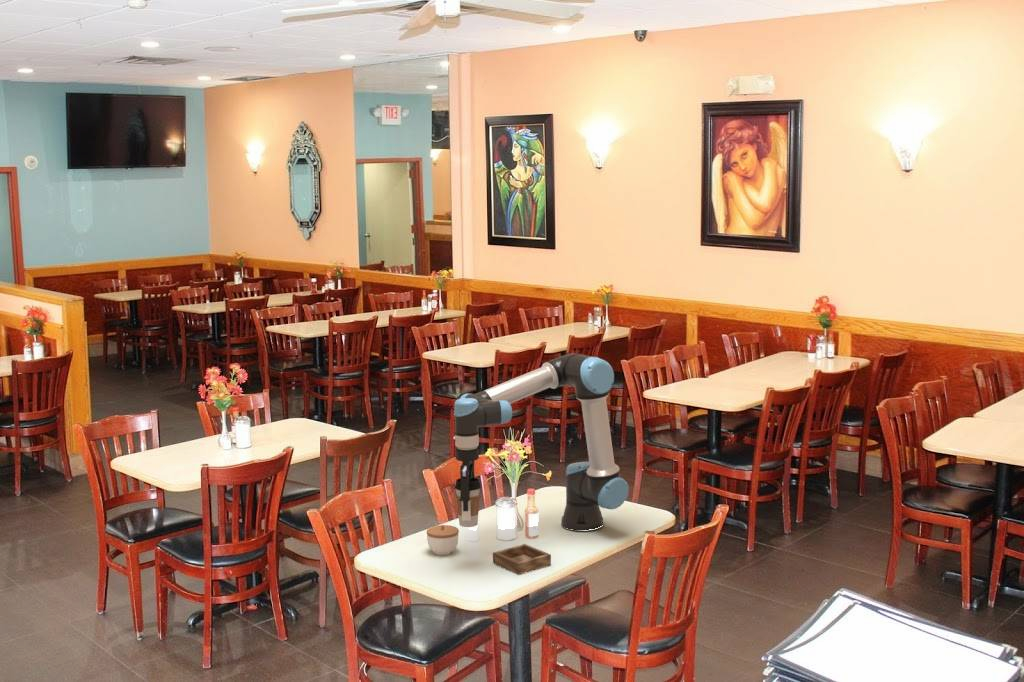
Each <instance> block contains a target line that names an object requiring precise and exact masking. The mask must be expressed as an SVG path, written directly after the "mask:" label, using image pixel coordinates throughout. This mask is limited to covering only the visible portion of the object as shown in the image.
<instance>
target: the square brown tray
mask: <svg viewBox="0 0 1024 682" xmlns="http://www.w3.org/2000/svg"><path fill="white" fill-rule="evenodd" d="M493 563H494V564H493ZM492 564H493V565H495V564H496V566H497V567H500V566H501V568H502V569H504V568H505V569H504V570H507V571H509V572H511V571H512V573H513V572H514V573H513V574H515V573H516V575H517V576H520V575H523V574H526V573H525V572H527V573H529V571H530V572H533V571H536V569H537V570H539V569H542V568H547V567H549V566H551V565H552V554H550V553H548V552H545V551H543V550H540V549H538V548H535V547H533V546H530V545H529V544H526V543H522V544H520V545H516V546H513V547H509V548H504V549H502V550H498V551H495V552H494V551H493V552H492ZM546 566H547V567H546ZM532 570H533V571H532ZM522 573H523V574H522ZM519 574H520V575H519Z"/></svg>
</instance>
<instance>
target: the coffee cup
mask: <svg viewBox="0 0 1024 682" xmlns="http://www.w3.org/2000/svg"><path fill="white" fill-rule="evenodd" d="M469 484H470V506H471V521H462V501H459V499H460V498H461V477H459V478H457V479H455V484H454V489H455V498H456V499H455V500H456V507H457V508H456V509H457V515H458V525H459V526H460V527H463V528H472V527H473V528H474V527H476V526H477V525H478V524H479V523H478V522H479V511H480V510H479V509H480V498H481V497H480V496H481V494H480V489H481V488H482V486H481V483H480V479H479V478H477V477H475V478H473V480H470V482H469Z"/></svg>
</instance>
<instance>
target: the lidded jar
mask: <svg viewBox="0 0 1024 682" xmlns="http://www.w3.org/2000/svg"><path fill="white" fill-rule="evenodd" d="M459 532H460V530H459V528H458V527H456V526H454V525H449V524H447V525H446V524H439V525H434V526H431V527H428V528H427V530H426V540H427V545H428V547H429V549H430V550H431V551H432V552H433V553H434V555H437V554H439V555H438V556H447V555H446V554H448V555H450V553H451V552H452V553H453V551H454V550H455V549H457V545H458V542H459ZM452 553H451V554H452Z"/></svg>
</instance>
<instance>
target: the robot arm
mask: <svg viewBox="0 0 1024 682" xmlns="http://www.w3.org/2000/svg"><path fill="white" fill-rule="evenodd" d="M614 382H615V372H614V369H613V367H612V365H611V364H610V363H609V362H608V361H607V360H604V359H602V358H600V357H597V356H590V355H585V354H582V353H577V352H576V353H575V352H574V353H568V354H565V355H561V356H558V357H556V358H553V359H550V360H548V361H546V362H543V363H542V365H541V367H539V368H536V369H534V370H532V371H529V372H526V373H524V374H521V375H519V376H517V377H514V378H511V379H509V380H507V381H504V382H502V383H499V384H497V385H494V386H492V387H489V388H487V389H485V390H482V391H479V392H477V393H464V394H462V395H461V396H460V397H459V399H456V400H455V402H454V408H453V409H454V411H453V417H454V436H453V437H452V439H453V440H455V441H454V445H455V448H454V452H455V454H454V455H455V456H454V457H455V460H457V461H459V462H462V463H461V465H460V470H459V475H460V478H461V498H460V499H459V501H462V521H471V506H470V484H469V482H470V480H473V478H476V477H475V461H478V459H479V457H480V449H479V446H480V439H479V434H480V433H479V428H482V427H489V426H491V427H492V426H496V425H497V426H498V425H504V424H507V423H508V424H509V422H511V420H512V418H513V408H512V405H511V404H513V403H515V402H518V401H520V400H522V399H523V400H524V399H525V398H527V397H530V396H532V395H535V394H538V393H541V392H542V391H545V390H548V389H549V388H550V389H553V390H555V389H557V388H559V387H572V388H574V391H575V397H576V400H578V401H579V402H580V404H581V411H582V417H583V425H584V432H585V440H586V446H587V455H588V461H579V462H572V463H569V464H568V465H567V467H566V469H565V470H566V471H565V482H566V483H565V489H566V491H565V495H566V502H565V507H564V510H563V515H562V517H561V527H562V526H563V528H564V527H565V528H568V529H573V530H589V529H595V528H598V527H600V526H602V525H603V526H604V517H603V515H602V511H601V508H602V509H607V510H616V509H618V508H620V507H621V506H622V505H623V504H624V503H625V501H626V500H627V498H628V495H629V488H630V487H629V484H628V482H627V481H626V480H625V478H622V477H621V472H620V471H621V470H620V467H619V465H618V464H616V463H615V458H614V457H615V456H614V450H613V444H612V434H611V426H610V420H609V412H608V411H609V410H608V404H607V398H608V397H609V396H610V393H611V391H610V390H611V389H612V388H613V386H612V385H613V384H614ZM565 528H564V529H565ZM568 529H567V530H568Z"/></svg>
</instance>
